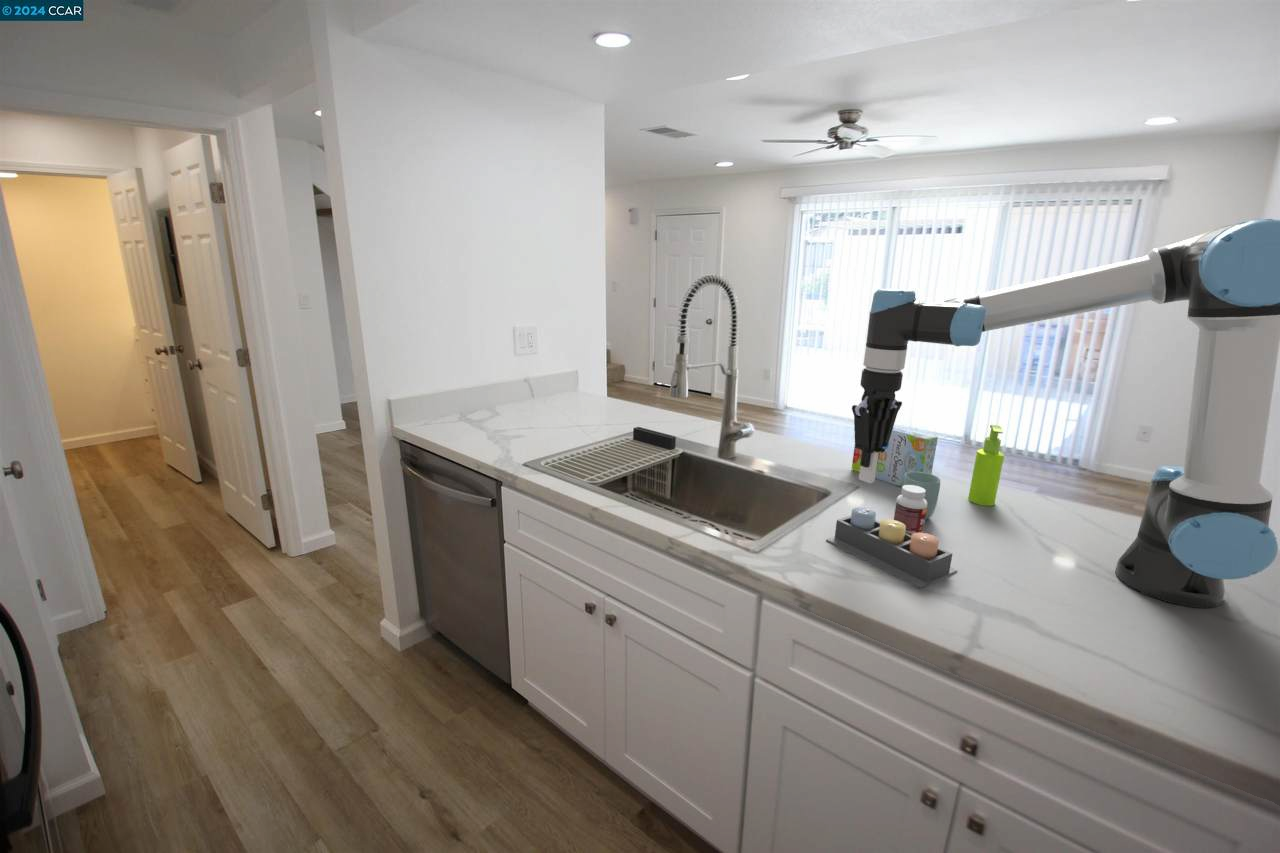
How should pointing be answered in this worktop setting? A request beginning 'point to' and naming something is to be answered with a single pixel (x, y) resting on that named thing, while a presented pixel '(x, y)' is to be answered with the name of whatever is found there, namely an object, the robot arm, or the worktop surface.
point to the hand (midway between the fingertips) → (866, 480)
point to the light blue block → (863, 518)
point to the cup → (929, 484)
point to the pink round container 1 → (924, 545)
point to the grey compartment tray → (891, 554)
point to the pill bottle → (911, 508)
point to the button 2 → (892, 531)
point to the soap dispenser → (987, 470)
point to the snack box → (902, 455)
